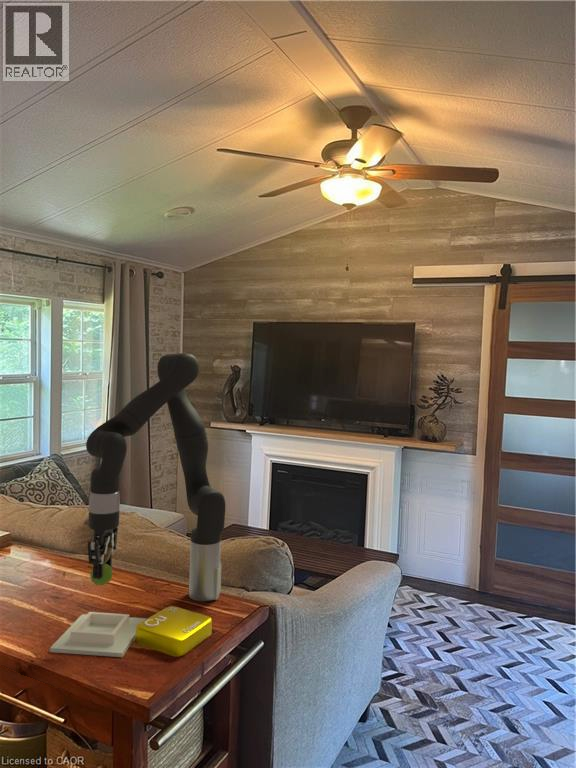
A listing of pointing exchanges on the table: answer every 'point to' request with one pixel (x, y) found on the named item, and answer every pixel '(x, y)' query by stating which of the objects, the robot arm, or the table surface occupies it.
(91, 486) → the robot arm
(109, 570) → the snail figurine
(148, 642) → the element tile
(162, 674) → the table surface
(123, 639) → the collar stand
